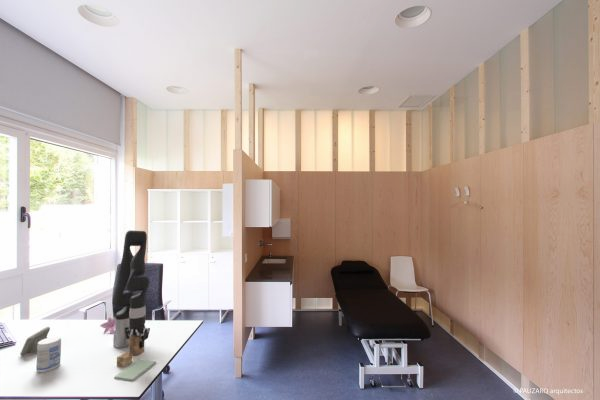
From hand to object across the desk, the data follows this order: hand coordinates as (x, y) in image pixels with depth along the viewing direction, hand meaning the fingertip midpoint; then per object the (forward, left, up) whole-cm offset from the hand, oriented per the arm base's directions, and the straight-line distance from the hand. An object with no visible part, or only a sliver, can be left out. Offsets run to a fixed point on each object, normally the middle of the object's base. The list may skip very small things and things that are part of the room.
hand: (136, 347), depth 143 cm
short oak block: (-11, +4, -12) cm, 17 cm away
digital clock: (-76, +6, -13) cm, 78 cm away
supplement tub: (-48, -7, -12) cm, 50 cm away
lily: (-52, +35, -13) cm, 64 cm away
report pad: (0, 0, -12) cm, 12 cm away
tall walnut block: (0, 0, -3) cm, 3 cm away
